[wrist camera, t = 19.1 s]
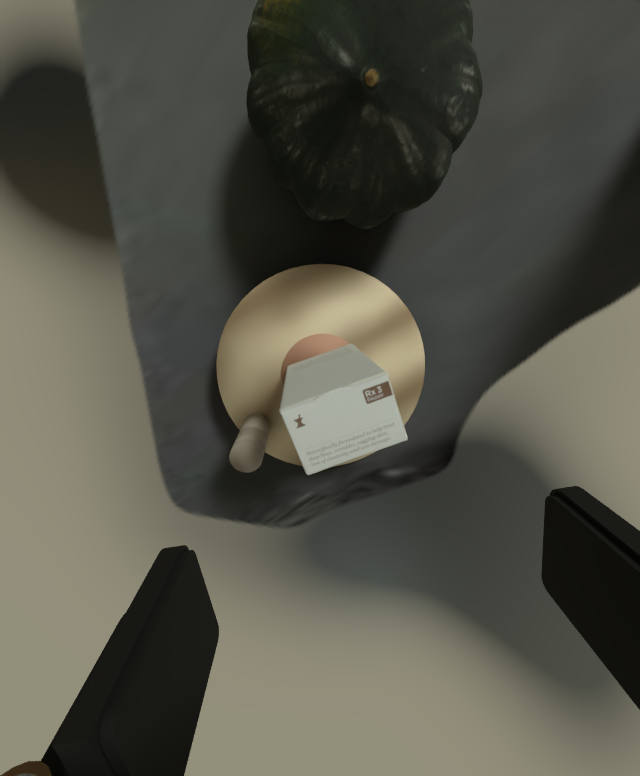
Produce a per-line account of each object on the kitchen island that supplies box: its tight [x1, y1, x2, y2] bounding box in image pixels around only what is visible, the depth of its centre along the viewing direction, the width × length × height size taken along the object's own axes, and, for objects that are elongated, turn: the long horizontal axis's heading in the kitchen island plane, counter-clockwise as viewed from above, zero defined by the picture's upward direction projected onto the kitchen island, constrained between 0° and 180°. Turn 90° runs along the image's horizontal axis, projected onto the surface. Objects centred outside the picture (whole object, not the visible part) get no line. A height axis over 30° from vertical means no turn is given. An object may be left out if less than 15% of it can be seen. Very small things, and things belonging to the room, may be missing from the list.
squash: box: [247, 0, 482, 229], centre depth 22 cm, size 14×15×15 cm
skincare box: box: [279, 344, 408, 475], centre depth 23 cm, size 6×4×12 cm
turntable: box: [216, 264, 425, 473], centre depth 27 cm, size 18×18×8 cm
